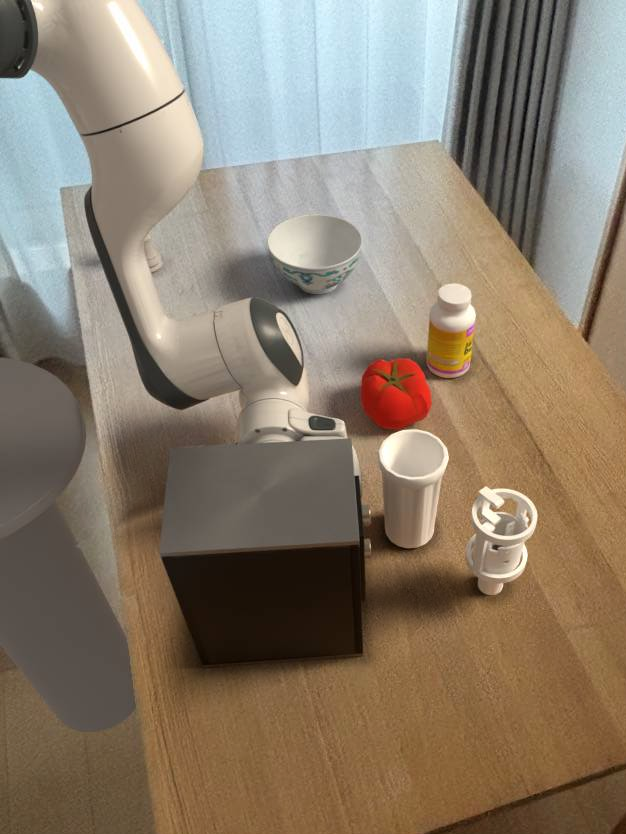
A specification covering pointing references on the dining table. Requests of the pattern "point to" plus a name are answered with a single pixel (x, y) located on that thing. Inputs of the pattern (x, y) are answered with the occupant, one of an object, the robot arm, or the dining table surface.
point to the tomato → (395, 393)
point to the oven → (267, 550)
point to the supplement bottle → (451, 332)
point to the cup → (411, 485)
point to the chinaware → (315, 251)
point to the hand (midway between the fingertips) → (274, 534)
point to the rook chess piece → (152, 255)
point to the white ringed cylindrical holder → (499, 539)
